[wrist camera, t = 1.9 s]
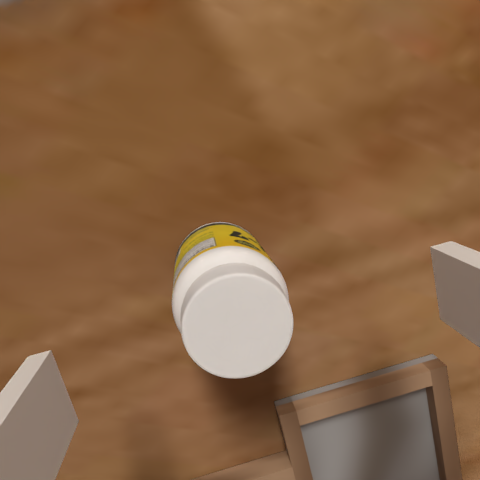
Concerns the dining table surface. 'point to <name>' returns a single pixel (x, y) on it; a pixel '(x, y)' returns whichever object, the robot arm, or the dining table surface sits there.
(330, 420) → the wooden tray with handle
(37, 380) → the robot arm
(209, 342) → the supplement bottle
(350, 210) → the dining table surface
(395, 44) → the dining table surface
